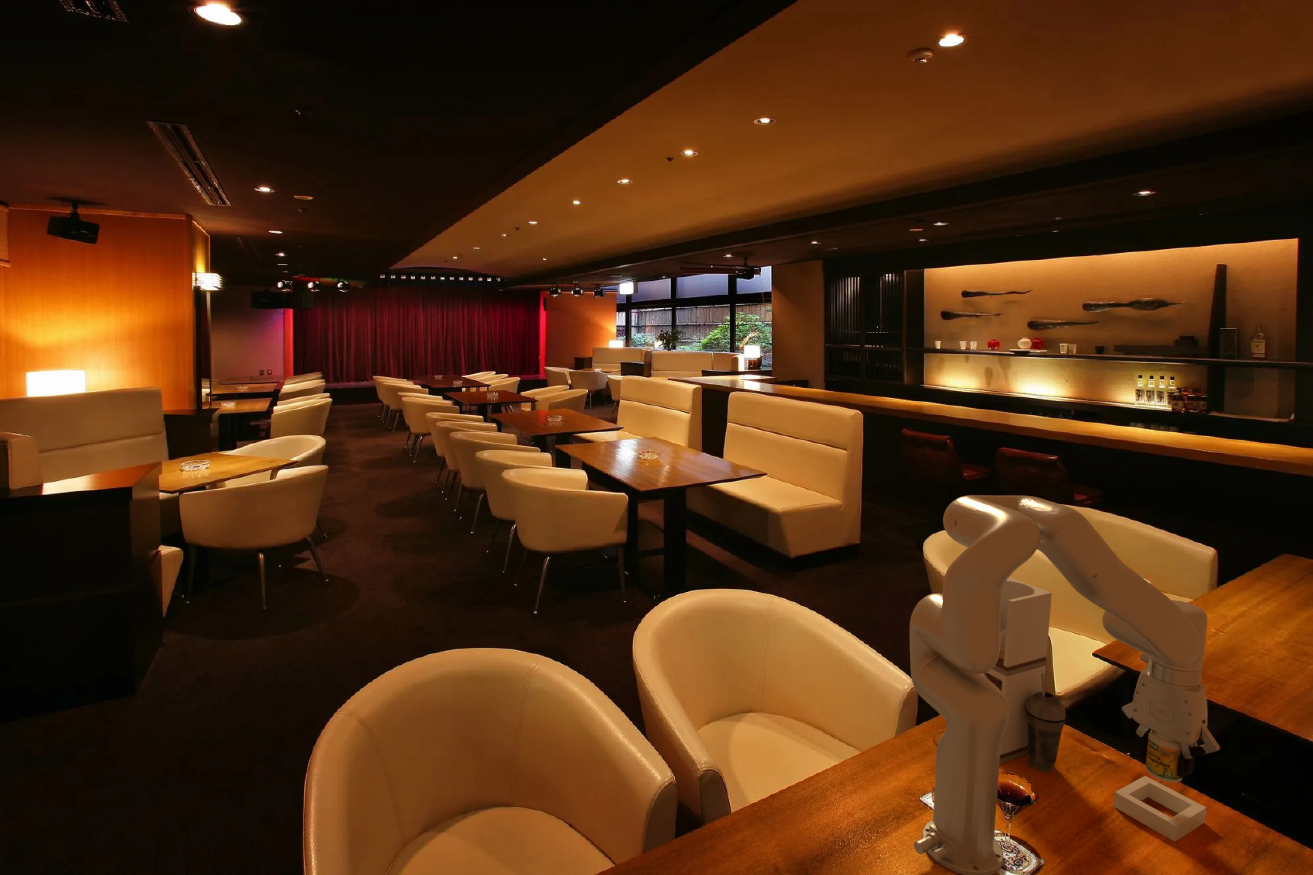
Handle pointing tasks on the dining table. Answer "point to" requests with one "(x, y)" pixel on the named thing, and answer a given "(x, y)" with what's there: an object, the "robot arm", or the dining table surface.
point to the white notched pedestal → (1020, 657)
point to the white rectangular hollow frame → (1171, 828)
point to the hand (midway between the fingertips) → (1164, 764)
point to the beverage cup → (1044, 728)
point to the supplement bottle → (1163, 757)
